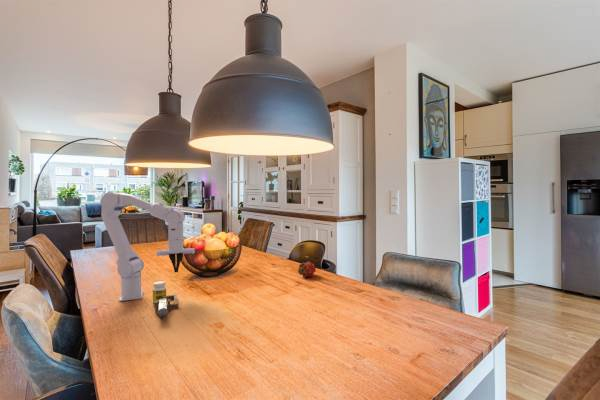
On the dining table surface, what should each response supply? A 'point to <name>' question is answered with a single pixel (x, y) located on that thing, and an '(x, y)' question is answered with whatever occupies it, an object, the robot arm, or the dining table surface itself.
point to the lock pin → (162, 309)
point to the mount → (169, 306)
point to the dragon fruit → (307, 269)
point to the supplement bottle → (159, 291)
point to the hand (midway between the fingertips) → (176, 271)
